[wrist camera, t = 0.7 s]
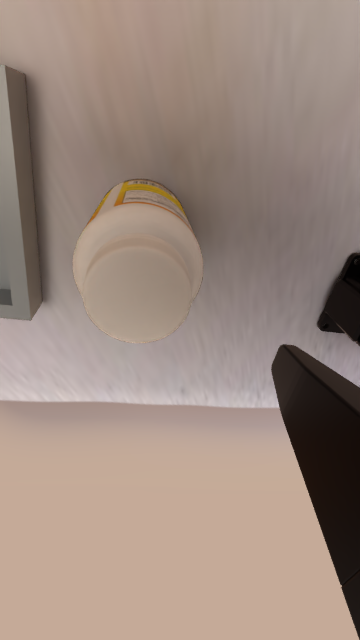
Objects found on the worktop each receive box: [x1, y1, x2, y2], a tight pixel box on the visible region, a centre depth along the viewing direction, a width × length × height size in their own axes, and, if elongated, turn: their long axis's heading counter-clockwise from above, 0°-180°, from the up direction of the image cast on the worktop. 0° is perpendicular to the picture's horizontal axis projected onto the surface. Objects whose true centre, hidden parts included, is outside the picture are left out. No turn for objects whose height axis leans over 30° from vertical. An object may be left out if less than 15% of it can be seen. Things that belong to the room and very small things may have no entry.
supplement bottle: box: [73, 179, 203, 343], centre depth 15 cm, size 6×6×10 cm
